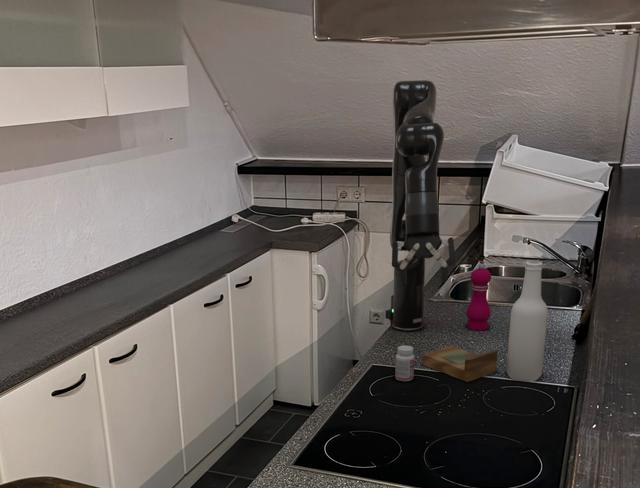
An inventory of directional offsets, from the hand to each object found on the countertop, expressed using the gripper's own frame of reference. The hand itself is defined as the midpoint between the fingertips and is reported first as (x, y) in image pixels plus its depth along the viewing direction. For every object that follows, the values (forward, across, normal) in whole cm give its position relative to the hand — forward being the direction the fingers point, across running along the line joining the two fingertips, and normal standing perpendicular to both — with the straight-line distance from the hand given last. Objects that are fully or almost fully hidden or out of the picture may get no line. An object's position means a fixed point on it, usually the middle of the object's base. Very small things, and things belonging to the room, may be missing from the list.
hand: (424, 285), depth 175 cm
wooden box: (+23, -8, -28) cm, 37 cm away
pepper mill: (+14, -14, -63) cm, 66 cm away
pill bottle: (+24, +6, -20) cm, 32 cm away
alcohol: (+25, -24, -26) cm, 43 cm away
